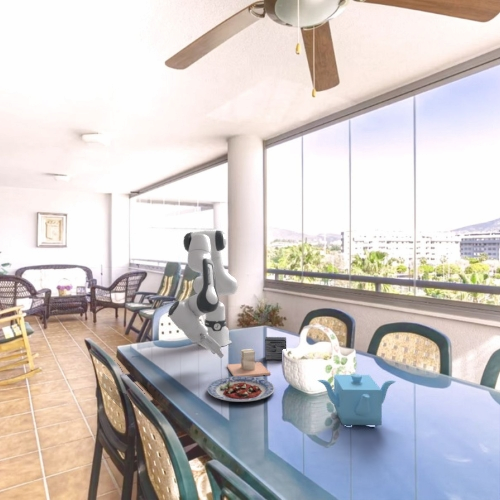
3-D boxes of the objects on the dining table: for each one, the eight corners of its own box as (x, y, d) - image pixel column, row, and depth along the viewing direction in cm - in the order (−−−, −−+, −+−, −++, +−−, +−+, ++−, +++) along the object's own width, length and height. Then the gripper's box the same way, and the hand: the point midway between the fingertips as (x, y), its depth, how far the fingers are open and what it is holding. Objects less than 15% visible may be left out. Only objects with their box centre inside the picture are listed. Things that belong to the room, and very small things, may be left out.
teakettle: (347, 404, 139) (347, 363, 139) (398, 421, 125) (398, 375, 125) (315, 421, 126) (315, 375, 126) (368, 442, 112) (368, 391, 112)
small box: (286, 357, 197) (286, 336, 196) (286, 361, 190) (286, 339, 190) (265, 356, 198) (265, 336, 197) (264, 360, 191) (264, 339, 191)
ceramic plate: (288, 392, 151) (288, 384, 151) (241, 413, 132) (241, 404, 132) (240, 377, 168) (240, 370, 168) (193, 393, 150) (193, 385, 150)
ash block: (241, 367, 178) (241, 349, 177) (251, 366, 179) (251, 349, 179) (243, 370, 173) (243, 352, 173) (254, 369, 174) (254, 351, 174)
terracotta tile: (226, 366, 181) (226, 364, 181) (259, 364, 185) (259, 361, 185) (234, 378, 166) (234, 375, 166) (270, 374, 170) (270, 372, 170)
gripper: (210, 330, 161) (231, 353, 164) (196, 325, 180) (216, 345, 183) (199, 341, 159) (221, 364, 162) (186, 335, 178) (206, 355, 181)
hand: (218, 354), depth 173 cm, fingers open, 8 cm apart
